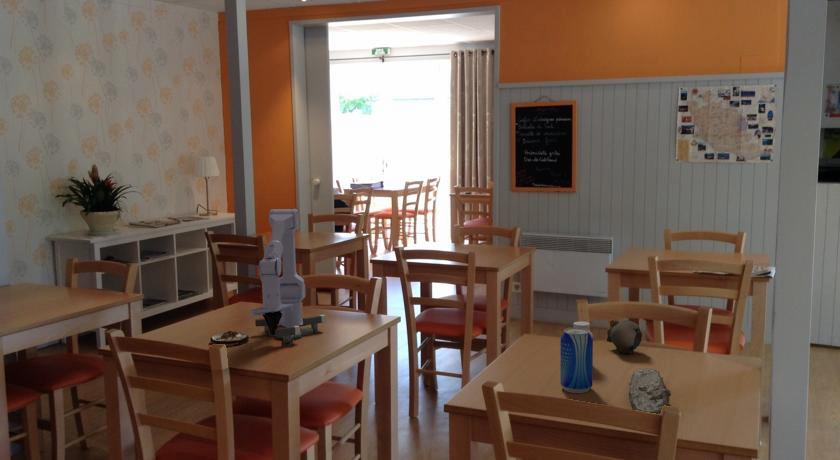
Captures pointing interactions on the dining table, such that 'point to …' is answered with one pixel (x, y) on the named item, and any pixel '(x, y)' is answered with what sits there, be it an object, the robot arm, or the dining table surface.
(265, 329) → the footscrew rear
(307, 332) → the levelling base
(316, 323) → the post
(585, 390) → the beer can
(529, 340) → the dining table surface
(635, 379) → the elongated rock
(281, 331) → the two-tone rectangular bar
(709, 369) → the dining table surface
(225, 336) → the cream topped cake
